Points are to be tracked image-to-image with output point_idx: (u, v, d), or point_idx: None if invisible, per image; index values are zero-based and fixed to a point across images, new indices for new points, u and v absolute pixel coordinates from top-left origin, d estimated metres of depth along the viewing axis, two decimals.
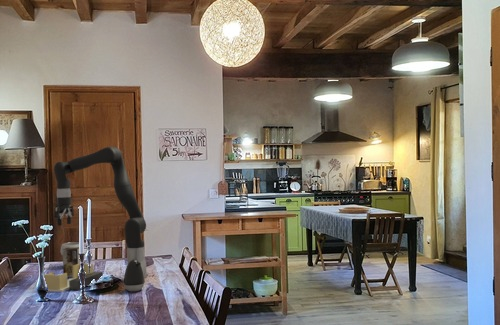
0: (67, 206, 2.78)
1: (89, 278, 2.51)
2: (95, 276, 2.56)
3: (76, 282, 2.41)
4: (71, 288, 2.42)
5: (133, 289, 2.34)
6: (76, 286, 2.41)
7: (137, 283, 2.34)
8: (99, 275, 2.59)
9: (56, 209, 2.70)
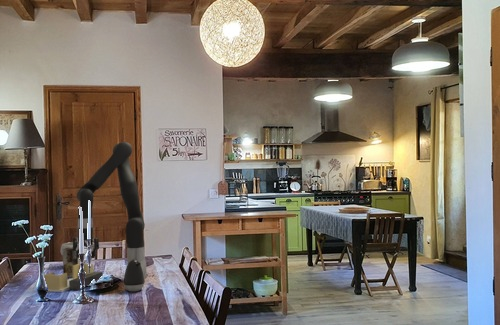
0: None
1: (89, 278, 2.50)
2: (95, 276, 2.56)
3: (76, 282, 2.41)
4: (71, 288, 2.42)
5: (133, 289, 2.34)
6: (76, 286, 2.41)
7: (137, 283, 2.34)
8: (99, 275, 2.59)
9: (97, 240, 2.51)
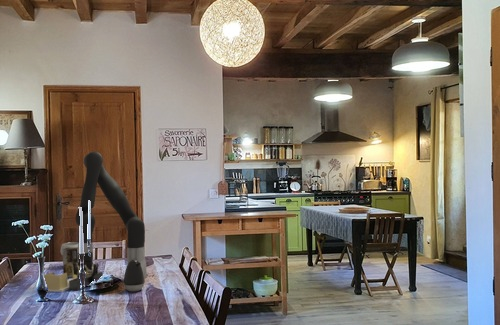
0: None
1: (89, 278, 2.50)
2: (95, 276, 2.56)
3: (76, 282, 2.41)
4: (71, 288, 2.42)
5: (133, 289, 2.34)
6: (76, 286, 2.41)
7: (137, 283, 2.34)
8: (99, 275, 2.59)
9: (96, 266, 2.51)
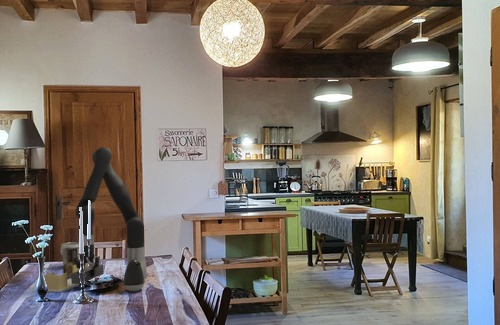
0: None
1: (90, 271, 2.50)
2: (96, 269, 2.55)
3: (78, 275, 2.41)
4: (73, 281, 2.41)
5: (133, 289, 2.34)
6: (78, 279, 2.41)
7: (137, 283, 2.34)
8: (100, 268, 2.59)
9: (98, 258, 2.50)
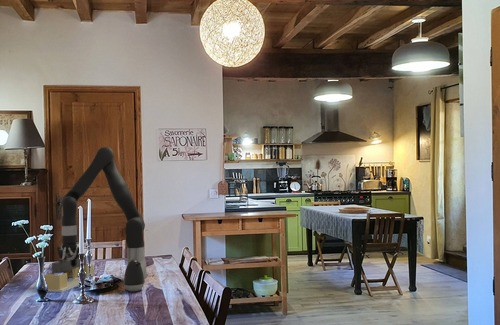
0: None
1: (72, 261, 2.53)
2: (78, 259, 2.59)
3: (58, 264, 2.44)
4: (54, 270, 2.45)
5: (133, 289, 2.34)
6: (58, 268, 2.44)
7: (137, 283, 2.34)
8: None
9: None
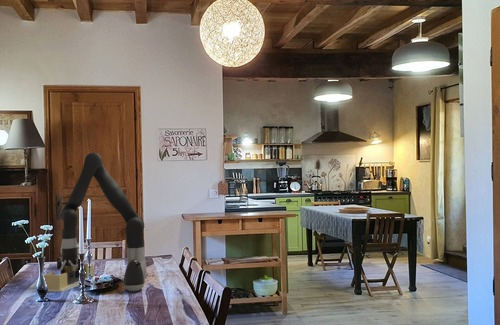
0: None
1: (72, 275, 2.53)
2: None
3: None
4: None
5: (133, 289, 2.34)
6: None
7: (137, 283, 2.34)
8: None
9: None
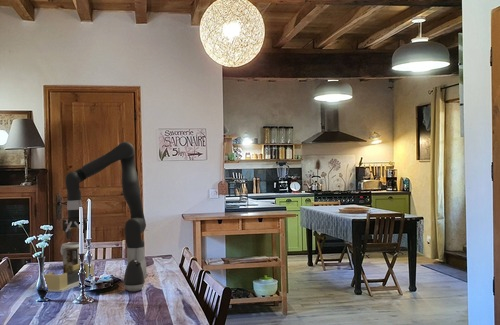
0: None
1: (72, 275, 2.53)
2: None
3: None
4: None
5: (133, 289, 2.34)
6: None
7: (137, 283, 2.34)
8: None
9: (86, 221, 2.60)
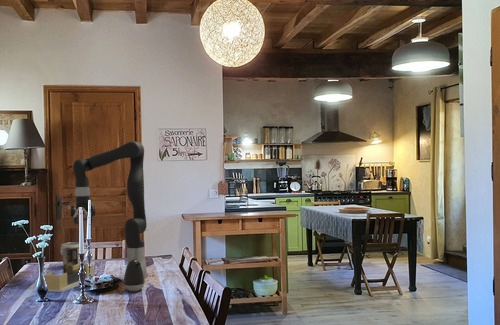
0: None
1: (72, 275, 2.53)
2: None
3: None
4: None
5: (133, 289, 2.34)
6: None
7: (137, 283, 2.34)
8: None
9: (93, 207, 2.68)
